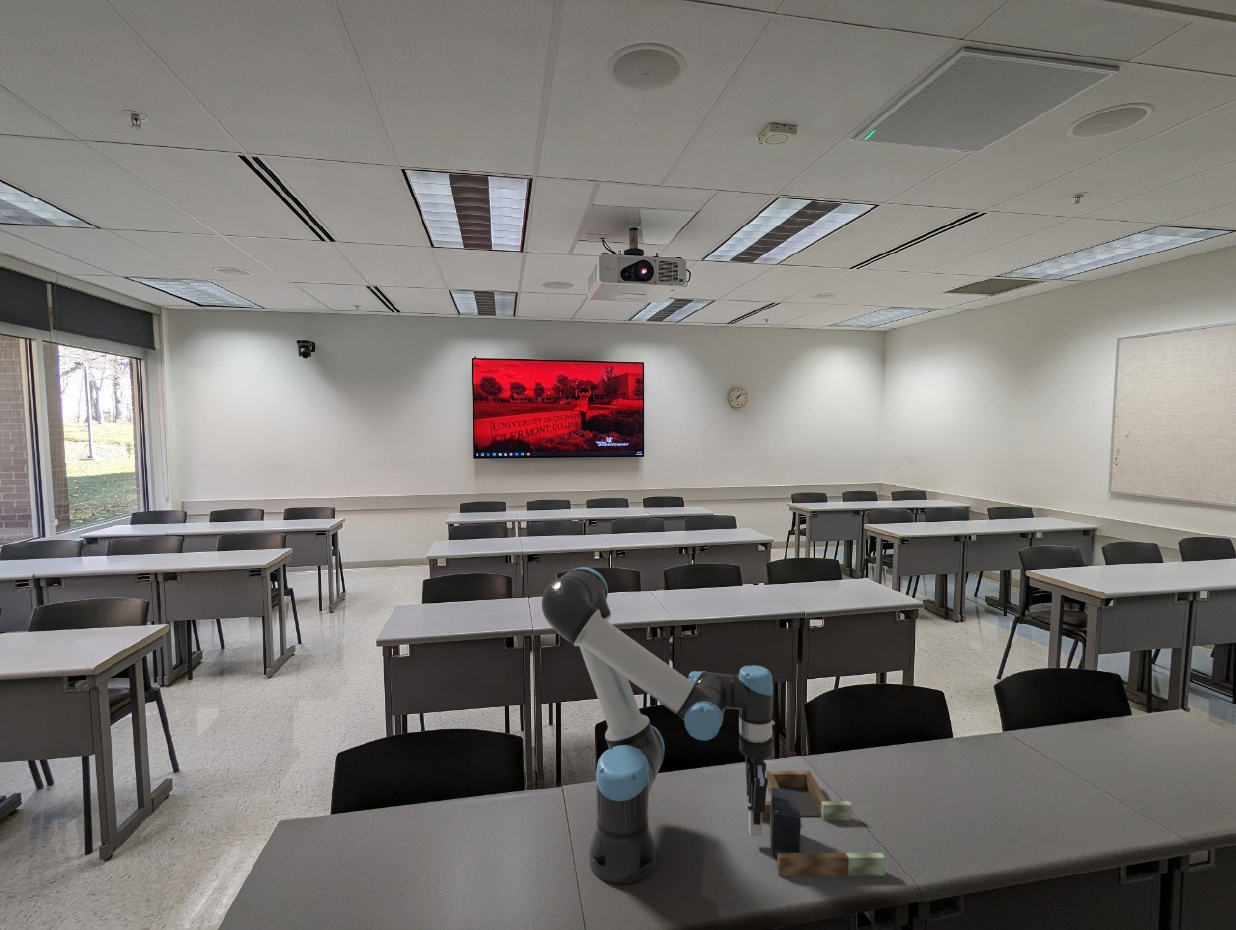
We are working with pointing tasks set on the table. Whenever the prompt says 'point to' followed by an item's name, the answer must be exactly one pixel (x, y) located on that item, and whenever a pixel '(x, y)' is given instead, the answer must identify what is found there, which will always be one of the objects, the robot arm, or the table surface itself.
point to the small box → (784, 822)
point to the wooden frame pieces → (829, 812)
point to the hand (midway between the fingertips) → (755, 833)
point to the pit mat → (805, 802)
